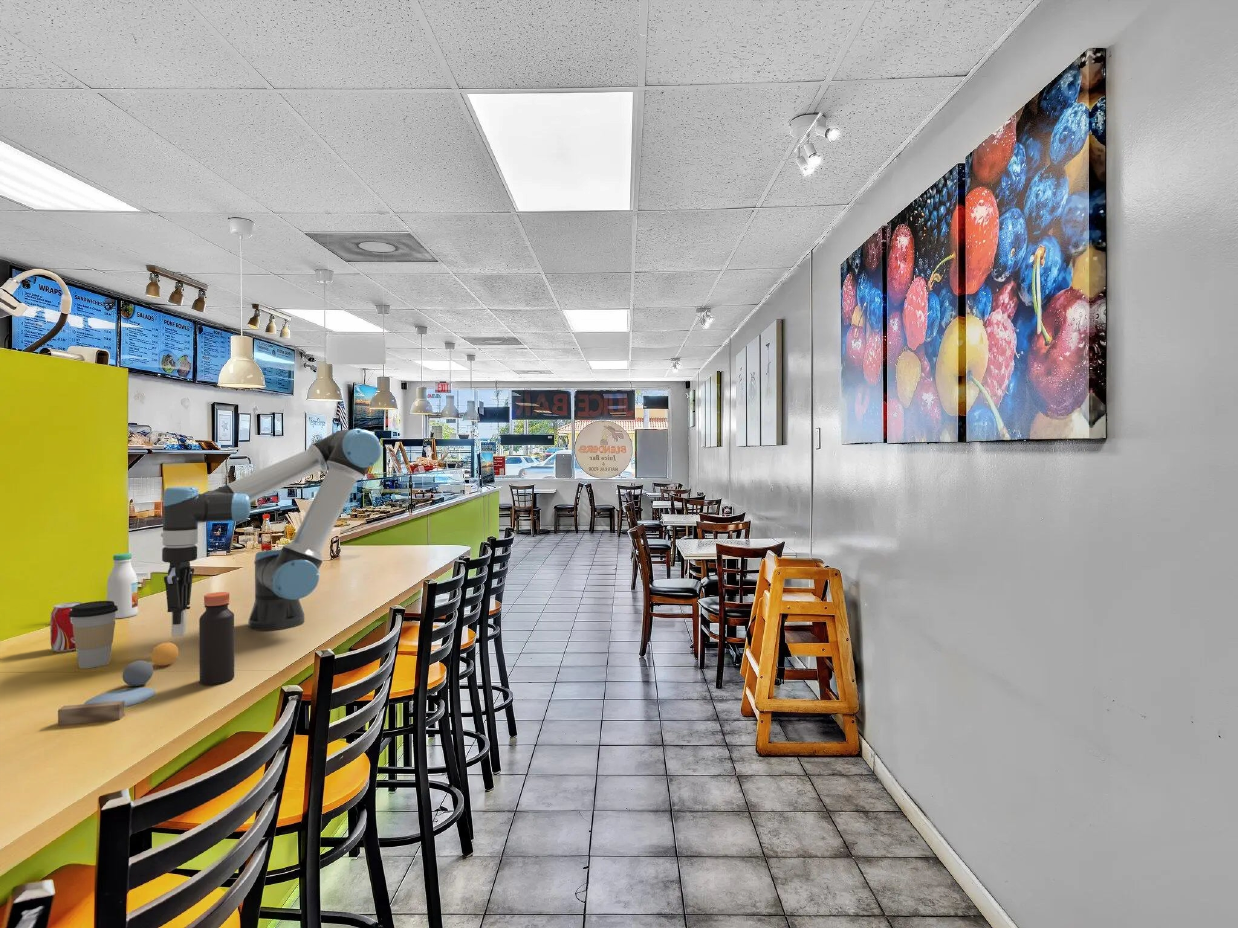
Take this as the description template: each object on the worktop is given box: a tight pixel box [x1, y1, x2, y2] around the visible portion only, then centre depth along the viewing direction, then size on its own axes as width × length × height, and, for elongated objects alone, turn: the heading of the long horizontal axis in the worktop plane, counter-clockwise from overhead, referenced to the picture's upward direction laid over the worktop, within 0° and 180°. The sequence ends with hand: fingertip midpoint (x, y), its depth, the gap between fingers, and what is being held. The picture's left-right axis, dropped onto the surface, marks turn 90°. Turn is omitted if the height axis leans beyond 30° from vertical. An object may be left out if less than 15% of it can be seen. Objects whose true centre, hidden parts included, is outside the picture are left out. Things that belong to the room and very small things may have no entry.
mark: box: [83, 687, 156, 708], centre depth 132 cm, size 12×12×1 cm
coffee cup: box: [68, 600, 118, 669], centre depth 153 cm, size 9×9×15 cm
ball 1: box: [121, 660, 154, 687], centre depth 139 cm, size 6×6×6 cm
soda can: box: [49, 601, 83, 653], centre depth 165 cm, size 7×7×12 cm
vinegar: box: [198, 591, 235, 686], centre depth 142 cm, size 7×7×20 cm
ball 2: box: [150, 642, 179, 667], centre depth 153 cm, size 6×6×6 cm
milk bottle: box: [106, 552, 139, 620], centre depth 198 cm, size 8×8×20 cm
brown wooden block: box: [57, 701, 126, 726], centre depth 121 cm, size 10×2×3 cm, turn 106°
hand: (178, 635), depth 161 cm, fingers closed
